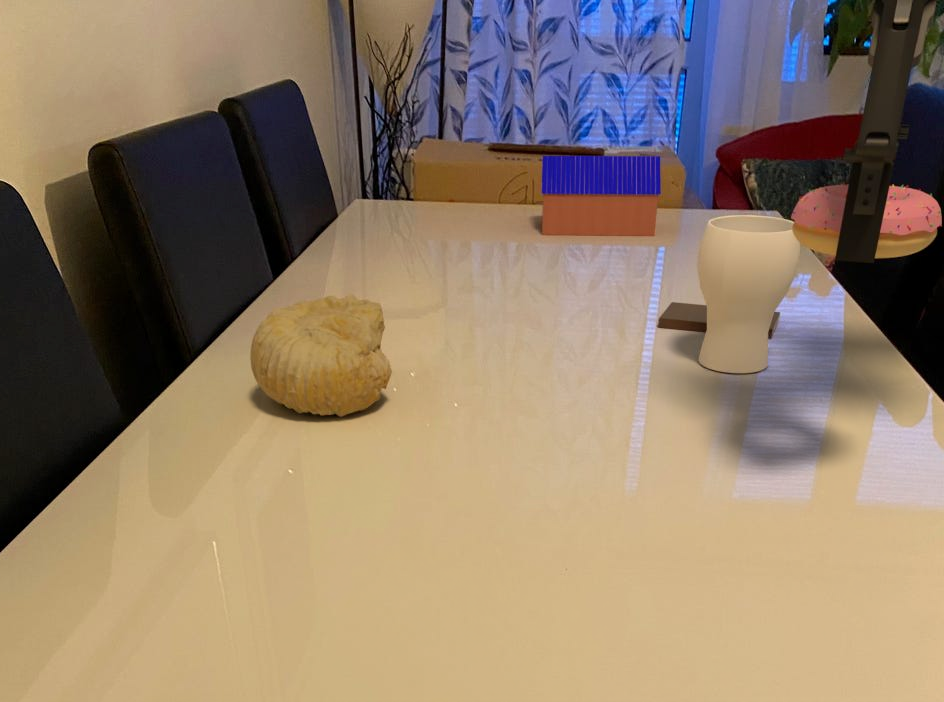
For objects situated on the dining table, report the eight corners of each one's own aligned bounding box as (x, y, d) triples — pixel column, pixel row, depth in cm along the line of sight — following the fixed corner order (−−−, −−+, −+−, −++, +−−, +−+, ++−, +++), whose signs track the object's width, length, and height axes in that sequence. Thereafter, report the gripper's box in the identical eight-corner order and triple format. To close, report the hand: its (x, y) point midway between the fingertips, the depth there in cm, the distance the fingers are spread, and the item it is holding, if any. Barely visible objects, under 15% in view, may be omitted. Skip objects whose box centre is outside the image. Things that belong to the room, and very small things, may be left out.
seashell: (237, 434, 103) (351, 429, 95) (203, 329, 98) (321, 314, 90) (331, 385, 115) (439, 377, 107) (306, 290, 110) (417, 273, 102)
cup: (800, 366, 112) (826, 226, 104) (735, 385, 107) (757, 238, 99) (730, 343, 119) (749, 210, 111) (666, 359, 114) (681, 221, 106)
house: (540, 221, 181) (542, 150, 175) (650, 222, 180) (656, 151, 173) (540, 235, 171) (542, 161, 165) (656, 236, 170) (663, 161, 163)
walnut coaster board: (778, 321, 127) (780, 312, 126) (771, 339, 121) (772, 329, 120) (670, 311, 131) (671, 301, 131) (657, 327, 125) (658, 317, 124)
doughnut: (923, 234, 80) (936, 178, 78) (947, 266, 71) (962, 204, 69) (784, 230, 82) (792, 176, 80) (789, 261, 73) (799, 200, 71)
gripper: (874, -98, 75) (821, 213, 87) (856, -121, 57) (792, 275, 69) (982, -103, 72) (912, 217, 84) (1000, -128, 54) (908, 284, 66)
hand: (858, 244), depth 77 cm, fingers closed on doughnut, 11 cm apart
